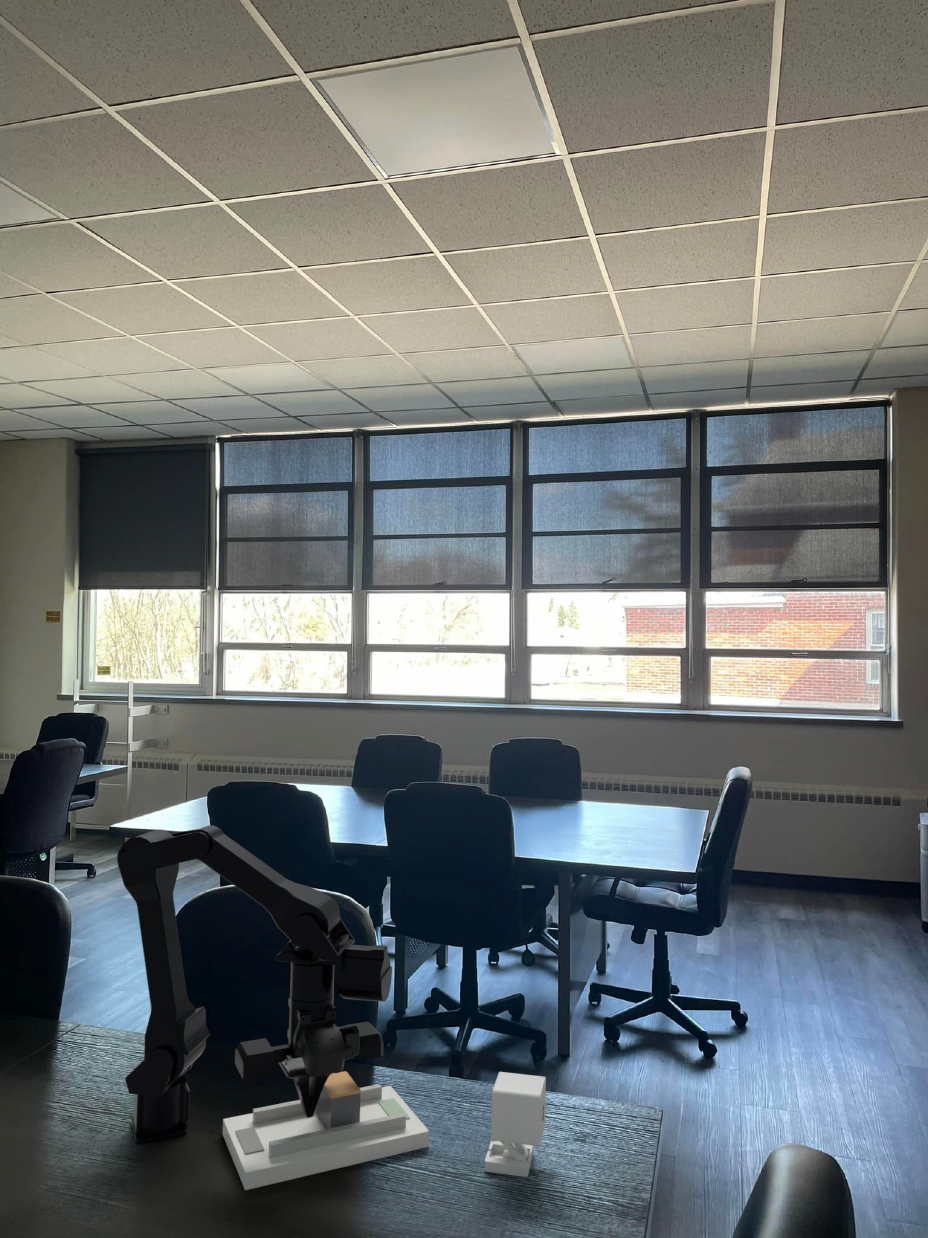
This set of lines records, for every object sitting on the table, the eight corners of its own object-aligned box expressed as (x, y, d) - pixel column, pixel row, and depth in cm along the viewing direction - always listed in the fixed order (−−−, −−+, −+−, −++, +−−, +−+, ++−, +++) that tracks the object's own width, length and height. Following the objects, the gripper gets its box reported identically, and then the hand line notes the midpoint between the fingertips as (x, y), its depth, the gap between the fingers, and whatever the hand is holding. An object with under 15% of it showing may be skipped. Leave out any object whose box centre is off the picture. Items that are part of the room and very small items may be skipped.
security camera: (539, 1181, 109) (540, 1097, 109) (483, 1173, 110) (485, 1091, 111) (545, 1154, 115) (546, 1075, 115) (492, 1147, 116) (493, 1069, 117)
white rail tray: (245, 1190, 105) (246, 1160, 106) (222, 1134, 118) (223, 1107, 118) (428, 1147, 116) (429, 1119, 116) (390, 1100, 128) (390, 1075, 129)
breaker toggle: (330, 1134, 114) (331, 1095, 115) (316, 1113, 120) (317, 1076, 120) (359, 1128, 116) (360, 1090, 116) (345, 1108, 121) (346, 1071, 122)
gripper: (254, 1028, 106) (250, 1163, 105) (399, 1005, 114) (397, 1130, 113) (236, 997, 116) (232, 1120, 115) (370, 978, 124) (367, 1093, 123)
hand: (308, 1116), depth 116 cm, fingers closed
